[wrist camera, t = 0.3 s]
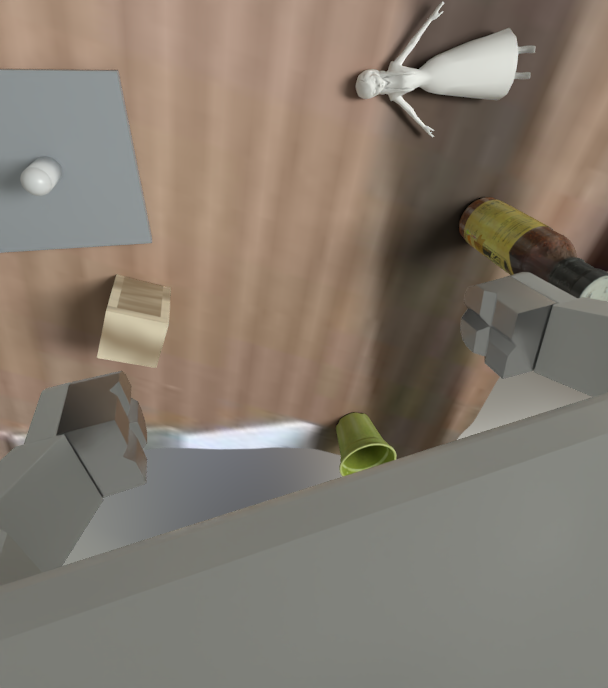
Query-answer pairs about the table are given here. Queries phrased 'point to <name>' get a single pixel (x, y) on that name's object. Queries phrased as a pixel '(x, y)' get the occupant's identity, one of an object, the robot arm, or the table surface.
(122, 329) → the beige block
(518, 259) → the sauce bottle
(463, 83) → the woman figurine
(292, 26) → the table surface
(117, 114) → the post base
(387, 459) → the plant pot
